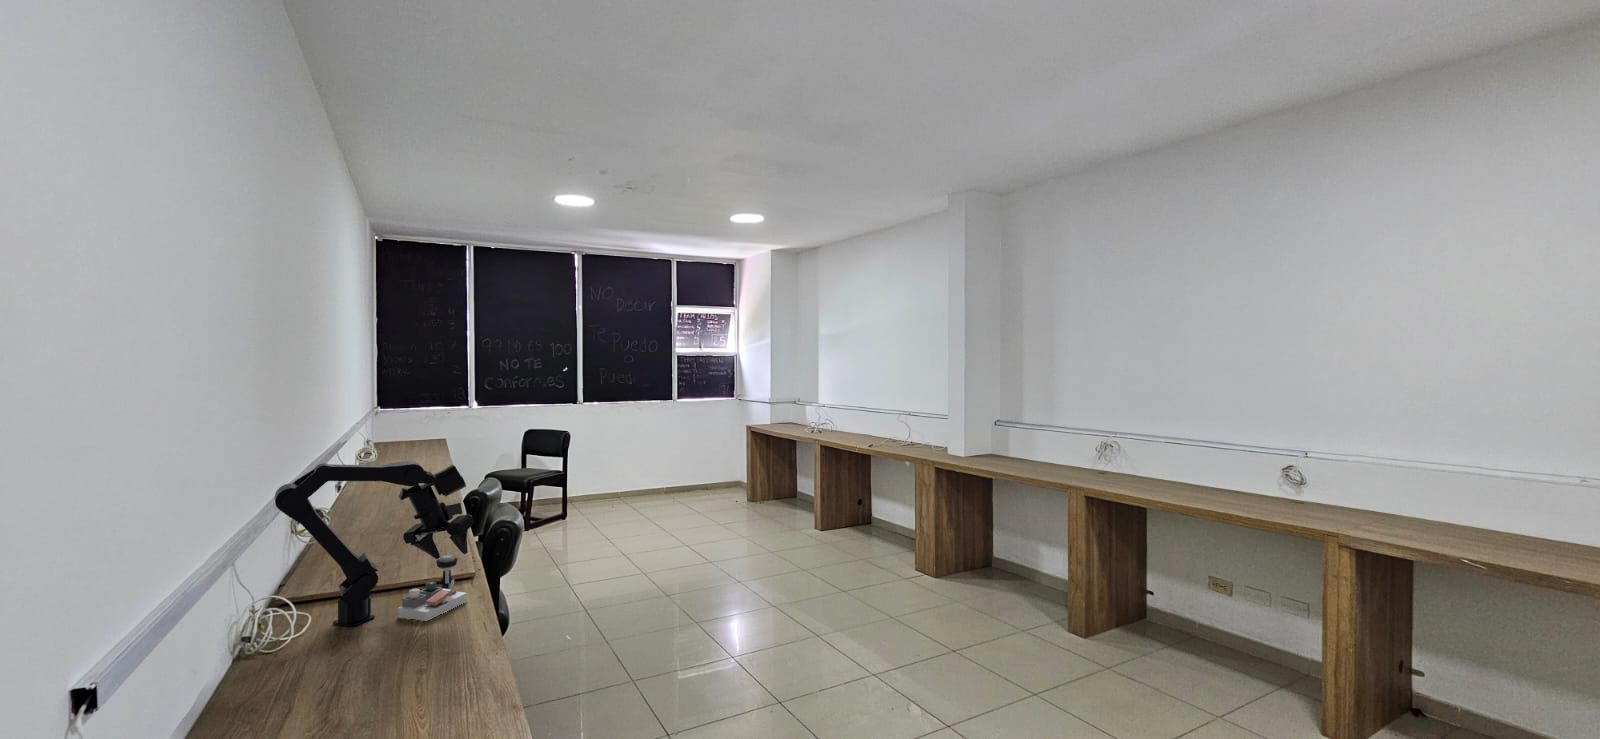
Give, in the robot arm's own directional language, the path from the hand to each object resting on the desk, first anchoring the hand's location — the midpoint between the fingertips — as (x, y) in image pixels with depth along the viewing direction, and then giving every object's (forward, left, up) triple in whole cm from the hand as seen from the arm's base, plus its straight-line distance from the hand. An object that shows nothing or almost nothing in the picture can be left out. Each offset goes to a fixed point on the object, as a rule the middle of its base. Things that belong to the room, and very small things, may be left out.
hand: (452, 555), depth 185 cm
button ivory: (-10, +3, -8) cm, 13 cm away
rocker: (-7, -2, -9) cm, 11 cm away
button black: (-4, +3, -8) cm, 10 cm away
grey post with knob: (+6, +7, -13) cm, 16 cm away
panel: (-6, +1, -13) cm, 14 cm away
